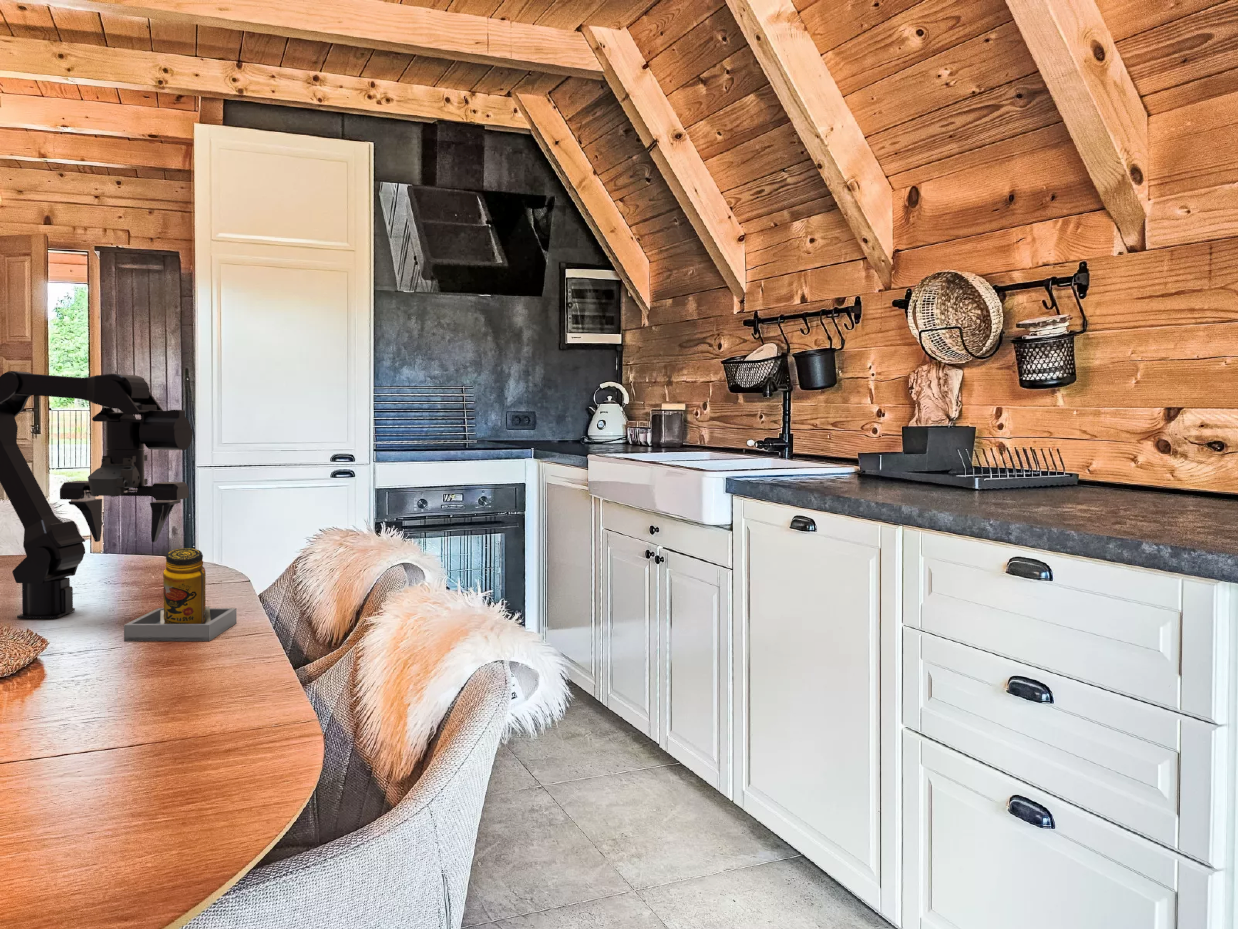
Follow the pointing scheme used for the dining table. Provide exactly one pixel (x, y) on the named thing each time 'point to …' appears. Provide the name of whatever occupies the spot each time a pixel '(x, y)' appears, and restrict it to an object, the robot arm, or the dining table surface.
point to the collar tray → (179, 627)
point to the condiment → (184, 588)
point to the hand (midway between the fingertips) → (125, 541)
